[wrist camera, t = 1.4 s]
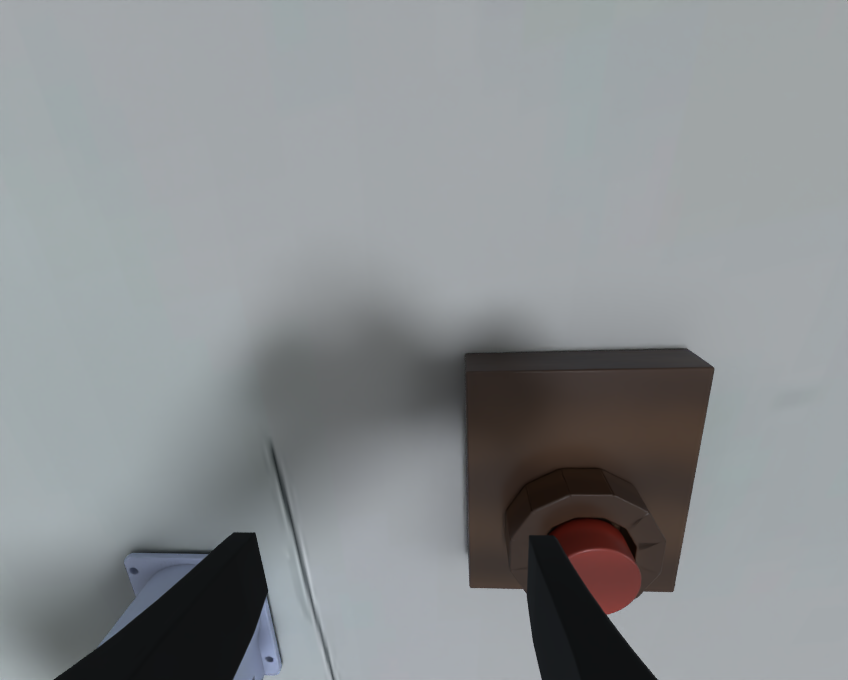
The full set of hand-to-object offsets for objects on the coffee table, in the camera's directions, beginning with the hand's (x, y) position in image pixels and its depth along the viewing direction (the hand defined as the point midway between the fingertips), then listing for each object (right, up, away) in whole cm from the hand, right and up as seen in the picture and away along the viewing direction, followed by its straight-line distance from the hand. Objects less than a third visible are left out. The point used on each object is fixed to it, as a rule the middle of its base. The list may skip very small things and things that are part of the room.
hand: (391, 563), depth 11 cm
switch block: (+8, 0, +11) cm, 13 cm away
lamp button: (+8, -3, +8) cm, 12 cm away
